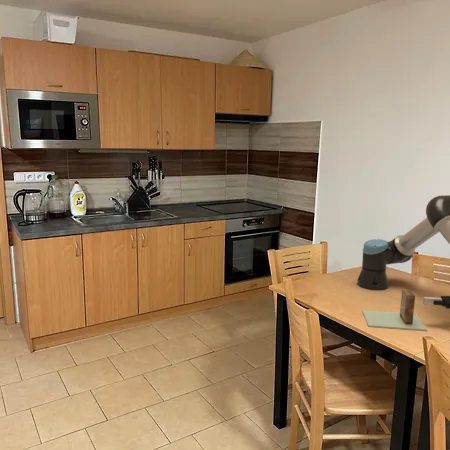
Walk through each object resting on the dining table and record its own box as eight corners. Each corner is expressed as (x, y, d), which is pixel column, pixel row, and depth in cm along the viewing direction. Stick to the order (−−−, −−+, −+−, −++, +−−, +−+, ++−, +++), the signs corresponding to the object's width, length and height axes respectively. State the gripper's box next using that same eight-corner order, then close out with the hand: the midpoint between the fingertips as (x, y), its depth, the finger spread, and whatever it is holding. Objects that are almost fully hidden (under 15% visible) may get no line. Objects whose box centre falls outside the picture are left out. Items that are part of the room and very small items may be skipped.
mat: (368, 326, 168) (368, 325, 168) (362, 311, 184) (362, 310, 183) (427, 331, 165) (427, 329, 164) (415, 315, 180) (415, 313, 180)
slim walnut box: (404, 323, 170) (406, 295, 167) (399, 316, 177) (401, 288, 175) (412, 324, 169) (415, 295, 167) (407, 316, 177) (409, 289, 175)
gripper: (493, 320, 161) (428, 315, 165) (479, 307, 174) (418, 303, 177) (496, 301, 160) (430, 297, 163) (481, 290, 172) (420, 286, 176)
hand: (424, 300), depth 170 cm, fingers closed
